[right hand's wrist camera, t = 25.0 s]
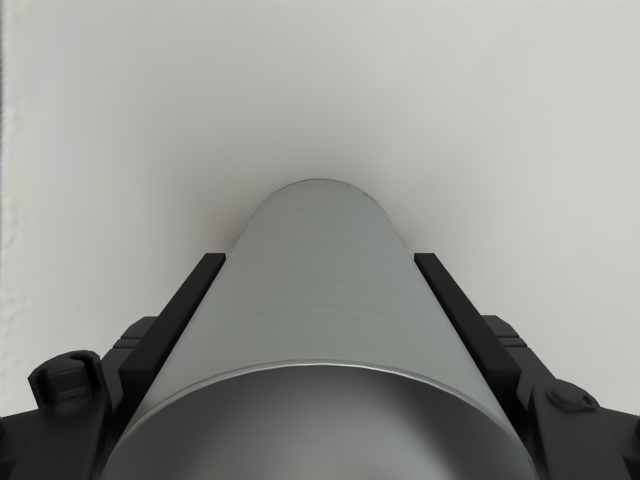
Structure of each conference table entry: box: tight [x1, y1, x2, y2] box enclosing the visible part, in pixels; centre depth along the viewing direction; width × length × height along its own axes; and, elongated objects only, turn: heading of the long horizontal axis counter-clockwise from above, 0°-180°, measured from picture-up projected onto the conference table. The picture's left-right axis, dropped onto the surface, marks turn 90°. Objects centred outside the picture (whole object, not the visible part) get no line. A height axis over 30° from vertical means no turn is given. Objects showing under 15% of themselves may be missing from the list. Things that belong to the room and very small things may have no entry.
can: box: [101, 179, 539, 480], centre depth 12 cm, size 7×7×12 cm
